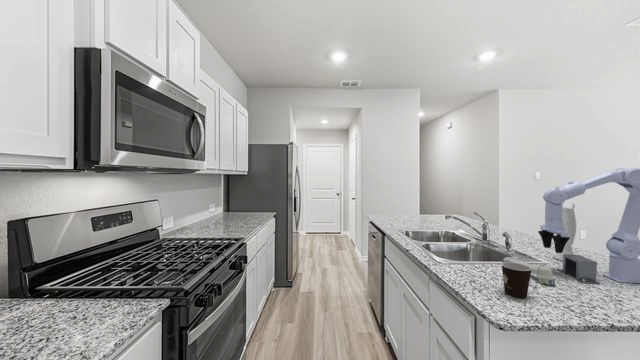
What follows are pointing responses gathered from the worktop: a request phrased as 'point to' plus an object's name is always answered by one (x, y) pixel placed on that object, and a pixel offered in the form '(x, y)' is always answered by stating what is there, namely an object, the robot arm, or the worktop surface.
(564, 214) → the skyscraper
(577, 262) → the bracket sleeve
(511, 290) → the coffee mug
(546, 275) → the light grey piece
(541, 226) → the robot arm
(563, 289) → the worktop surface
